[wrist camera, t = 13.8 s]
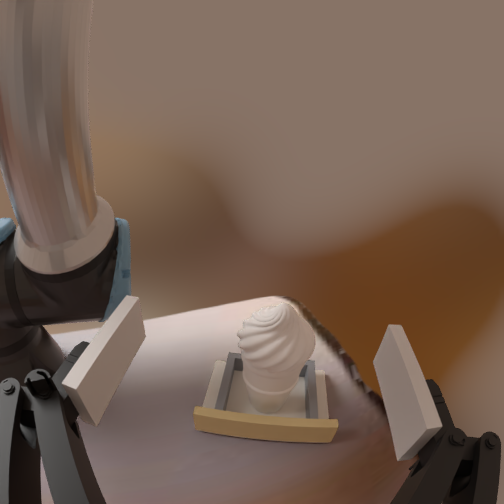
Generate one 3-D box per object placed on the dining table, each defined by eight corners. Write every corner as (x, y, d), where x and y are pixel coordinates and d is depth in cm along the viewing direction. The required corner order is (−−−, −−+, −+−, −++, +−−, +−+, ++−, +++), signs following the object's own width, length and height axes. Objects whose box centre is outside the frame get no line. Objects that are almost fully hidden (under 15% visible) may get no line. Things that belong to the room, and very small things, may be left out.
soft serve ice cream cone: (227, 384, 37) (229, 282, 31) (284, 373, 40) (302, 275, 33) (244, 433, 30) (253, 332, 24) (308, 417, 32) (340, 317, 26)
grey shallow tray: (216, 363, 42) (215, 342, 40) (323, 374, 41) (329, 353, 39) (195, 432, 30) (193, 413, 28) (328, 445, 29) (338, 427, 27)
